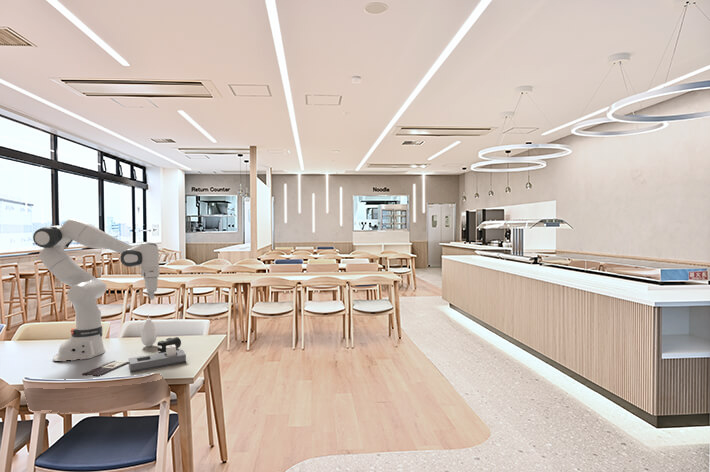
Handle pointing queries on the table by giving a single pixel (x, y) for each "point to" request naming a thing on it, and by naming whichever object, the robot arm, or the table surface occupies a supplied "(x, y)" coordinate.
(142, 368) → the power strip
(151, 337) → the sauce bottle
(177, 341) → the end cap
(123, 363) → the chocolate bar
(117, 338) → the table surface
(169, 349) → the charger
